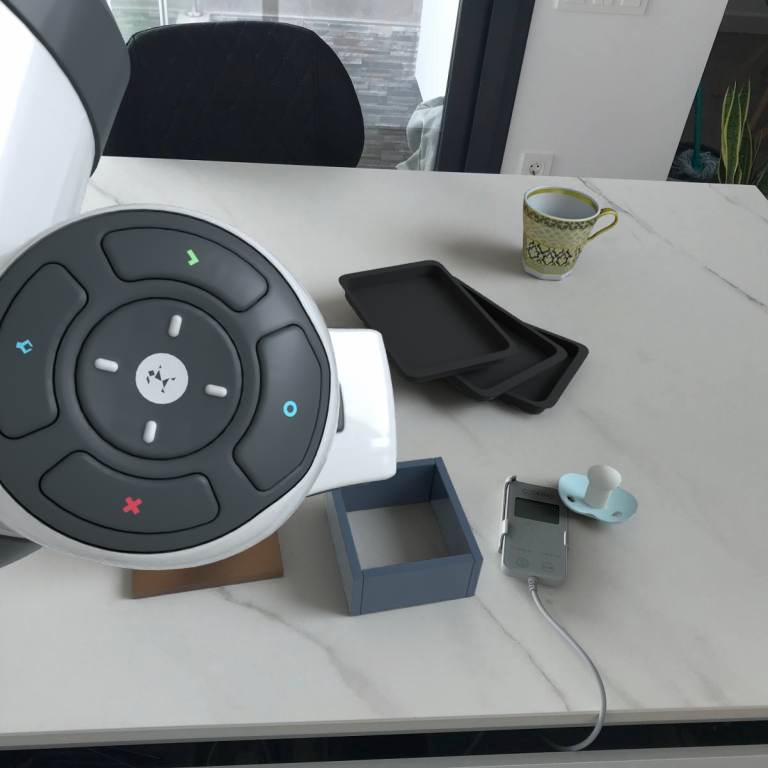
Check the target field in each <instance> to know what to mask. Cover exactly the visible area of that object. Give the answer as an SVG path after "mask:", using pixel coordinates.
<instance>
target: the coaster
mask: <svg viewBox="0 0 768 768" xmlns="http://www.w3.org/2000/svg"><path fill="white" fill-rule="evenodd" d="M279 541H280V540H279V535H278V529H277V530H276V531H275V532H274V533H272V534H271V535H270V536H268V537H267V538H265V539H263V540H262V541H260V542H259V543H257V544H256V545H254V546H252V547H250V548H248V549H246V550H244V551H242V552H240V553H238V554H235V555H233V556H230V557H228V558H225V559H222V560H219V561H216V562H213V563H209V564H205V565H201V566H196V567H190V568H182V569H168V570H139V569H132V595H133V599H134V600H137V599H144V598H151V597H157V596H165V595H172V594H178V593H184V592H190V591H198V590H204V589H211V588H217V587H223V586H231V585H237V584H245V583H250V582H257V581H263V580H269V579H270V580H271V579H277V578H283V577H284V571H285V570H284V565H283V558H282V551H281V546H280V542H279Z"/></svg>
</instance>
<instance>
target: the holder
mask: <svg viewBox="0 0 768 768" xmlns="http://www.w3.org/2000/svg"><path fill="white" fill-rule="evenodd" d="M324 494H325V496H324V497H325V498H324V510H325V511H324V512H325V515H326V519H327V523H328V528H329V533H330V536H331V540H332V544H333V548H334V553H335V557H336V561H337V566H338V571H339V573H340V579H341V581H342V587H343V591H344V595H345V599H346V603H347V609H348V612H349V615H350V617H357V616H360V615H362V616H363V615H367V614H374V613H379V612H385V611H392V610H398V609H399V610H400V609H404V608H411V607H415V606H416V607H417V606H422V605H428V604H434V603H441V602H446V601H452V600H458V599H463V598H464V599H465V598H470V597H471V598H472V597H474V596H475V594H476V592H477V587H478V583H479V579H480V574H481V571H482V567H483V564H484V557H483V554H482V552H481V549H480V547H479V544H478V542H477V539H476V538H475V535H474V532H473V530H472V528H471V527H472V526H471V525H470V523H469V520H468V518H467V515H466V513H465V510H464V507H463V505H462V503H461V500H460V498H459V496H458V493H457V491H456V489H455V486H454V483H453V481H452V479H451V476H450V474H449V471H448V469H447V466H446V463H445V462H444V459H443V456H437V457H436V456H435V457H429V458H428V457H427V458H419V459H412V460H411V459H410V460H404V461H403V460H402V461H396V473H395V475H394V476H392V477H391V478H388V479H385V480H378V481H371V482H369V484H366V485H360V486H355V487H350V488H344V489H339V490H335V491H330V492H326V493H324ZM423 502H429V503H430V505H431V508H432V511H433V513H434V516H435V518H436V522H437V524H438V527H439V529H440V532H441V535H442V538H443V540H444V543H445V545H446V549H447V551H448V554H449V556H443V557H436V558H430V559H424V560H417V561H410V562H404V563H396V564H391V565H383V566H378V567H372V568H371V567H370V568H365V569H362V567H361V562H360V558H359V555H358V551H357V547H356V544H355V540H354V536H353V533H352V529H351V525H350V521H349V516H348V514H347V513H348V512H357V511H365V510H372V509H379V508H387V507H393V506H394V507H395V506H401V505H408V504H415V503H416V504H417V503H423Z"/></svg>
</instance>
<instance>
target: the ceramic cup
mask: <svg viewBox="0 0 768 768" xmlns="http://www.w3.org/2000/svg"><path fill="white" fill-rule="evenodd" d="M606 215H614V220H613V222H612V223H610V224H609V225H607V226H605V227H604V228H602V229H600V230H597V231H596V232H595V233H594V234H592V235H591V233H592V231H593V229H594V227H595V225H596V223H597V222H598V220H599V219H600V218H602V217H604V216H606ZM618 221H619V214H618V212H617V211H616V209H613V208H611V207H602V208H601V205H600V202H599V201H598V200H597V199H596V198H594V196H591V194H588V193H587V192H584V191H582V190H580V189H577V188H575V187H574V188H573V187H568V186H564V185H557V184H546V185H538V186H534V187H531V188H529V189H528V190H526V192H525V193H524V195H523V203H522V223H523V224H522V227H523V228H522V251H521V252H522V253H521V255H522V256H521V257H522V258H521V259H522V260H521V261H522V266H523V269H524V271H525V272H526V273H527V274H529V275H531V276H533V277H536V278H537V279H540V280H542V281H543V280H545V281H561V280H563V279H565V278H566V277H568V276H569V275H571V274H572V272H573V269H574V267H575V266H576V263H577V262H578V260H579V259H578V258H579V257H580V256H581V253H582V251H583V248H584V247H585V246H586V245H587V244H588V243H590V242H591V241H593V240H595V239H596V238H597V237H599V236H600V235H602V234H603V233H606V232H608V231H609V230H612V229H613V228H614V227H615V226H616V225H617V224H618ZM590 235H591V236H590Z"/></svg>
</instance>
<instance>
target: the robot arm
mask: <svg viewBox="0 0 768 768" xmlns="http://www.w3.org/2000/svg"><path fill="white" fill-rule="evenodd" d="M130 77H131V60H130V54H129V50H128V47H127V44H126V41H125V39H124V37H123V34H122V32H121V29H120V27H119V25H118V23H117V21H116V19H115V16H114V14H113V12H112V10H111V8H110V5H109V4H108V2H107V0H0V569H2V568H5V567H7V566H8V565H11V564H13V563H16V562H18V561H20V560H22V559H24V558H26V557H28V556H30V555H31V554H34V553H35V552H37V551H39V550H41V549H42V548H47V549H50V550H52V551H55V552H58V553H61V554H64V555H67V556H69V557H73V558H77V559H81V560H85V561H89V562H92V563H93V562H94V563H97V564H102V565H105V566H111V567H116V568H123V569H130V570H133V569H139V570H168V569H182V568H190V567H196V566H201V565H205V564H209V563H213V562H216V561H219V560H222V559H225V558H228V557H230V556H233V555H235V554H238V553H240V552H242V551H244V550H246V549H248V548H250V547H252V546H254V545H256V544H257V543H259V542H260V541H262V540H263V539H265V538H267V537H268V536H270V535H271V534H272V533H274V532H275V531H276V530H277V531H278V529H279V528H280V527H282V526H283V525H284V524H285V523H286V522H288V520H289V519H290V518H291V516H292V515H293V514H294V513H295V512H296V511H297V509H299V507H300V506H301V504H302V503H303V501H304V500H305V499H306V498H311V497H315V496H318V495H322V494H326V492H330V491H335V490H339V489H344V488H350V487H355V486H360V485H366V484H369V482H371V481H378V480H385V479H388V478H391V477H392V476H394V475H395V473H396V462H398V461H397V458H398V457H397V456H398V453H397V452H398V443H397V442H398V441H397V438H398V437H397V417H396V406H395V396H394V389H393V381H392V375H391V370H390V365H389V359H388V358H387V355H386V351H385V347H384V343H383V339H382V335H381V333H380V332H378V331H376V330H372V329H367V328H353V327H351V326H350V327H349V326H327V324H326V321H325V318H324V316H323V314H322V312H321V310H320V309H319V307H318V305H317V303H316V302H315V301H314V299H313V298H312V296H311V295H310V294H309V292H308V291H307V290H306V288H305V287H304V285H303V284H302V283H301V281H300V280H299V279H298V278H297V276H296V275H295V274H294V273H293V272H292V271H291V270H290V269H289V268H288V267H287V265H285V263H284V262H283V261H281V259H279V258H278V257H277V256H276V255H275V254H274V253H273V252H272V251H270V250H269V248H267V247H266V246H265V245H263V244H262V243H261V242H259V241H257V240H256V239H254V237H251V236H250V235H248V234H247V233H246V232H244V231H242V230H241V229H239V228H238V227H235V226H233V225H232V224H229V222H225V221H224V220H221V219H219V218H216V217H214V216H212V215H209V214H207V213H204V212H200V211H197V210H194V209H191V208H185V207H180V206H176V205H171V204H162V203H161V204H160V203H135V202H134V203H125V204H124V203H123V204H114V205H108V206H104V207H99V208H98V207H97V208H94V209H90V210H87V211H83V212H81V211H82V207H83V205H84V200H85V196H86V192H87V189H88V185H89V182H90V178H92V176H93V175H94V173H95V172H96V170H97V169H98V167H99V163H100V161H101V158H102V155H103V152H104V150H105V147H106V144H107V141H108V139H109V136H110V133H111V131H112V128H113V125H114V123H115V119H116V117H117V113H118V111H119V108H120V107H121V103H122V100H123V98H124V95H125V92H126V91H127V87H128V84H129V81H130Z"/></svg>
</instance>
